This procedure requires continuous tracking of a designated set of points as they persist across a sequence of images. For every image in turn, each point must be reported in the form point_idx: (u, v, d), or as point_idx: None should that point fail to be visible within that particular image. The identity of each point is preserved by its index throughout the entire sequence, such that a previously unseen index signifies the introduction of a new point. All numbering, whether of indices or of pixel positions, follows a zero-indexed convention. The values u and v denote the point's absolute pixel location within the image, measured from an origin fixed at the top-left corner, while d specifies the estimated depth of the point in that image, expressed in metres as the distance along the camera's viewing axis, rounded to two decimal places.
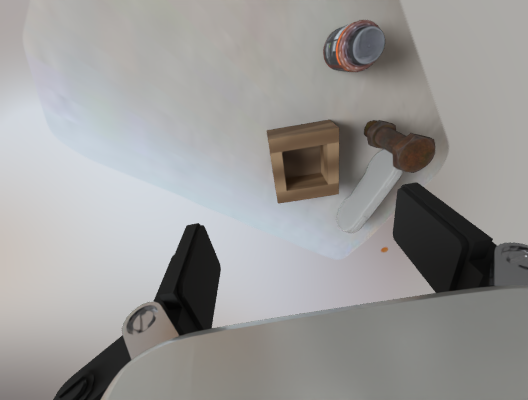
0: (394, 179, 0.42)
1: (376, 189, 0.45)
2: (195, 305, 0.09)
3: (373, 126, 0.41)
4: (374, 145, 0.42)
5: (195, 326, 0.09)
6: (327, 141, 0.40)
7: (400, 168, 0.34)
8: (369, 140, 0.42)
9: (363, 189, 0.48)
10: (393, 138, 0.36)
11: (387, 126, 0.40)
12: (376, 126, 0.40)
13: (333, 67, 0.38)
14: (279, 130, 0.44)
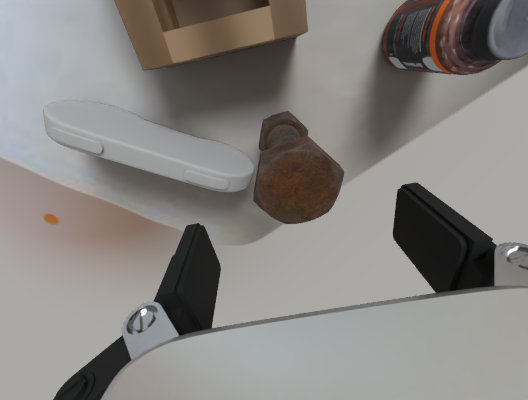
0: (208, 181, 0.21)
1: (178, 155, 0.21)
2: (195, 305, 0.09)
3: (296, 119, 0.22)
4: (265, 128, 0.22)
5: (195, 326, 0.09)
6: (276, 4, 0.17)
7: (265, 165, 0.13)
8: (272, 118, 0.22)
9: (168, 137, 0.24)
10: None
11: None
12: (300, 123, 0.22)
13: (405, 11, 0.20)
14: None
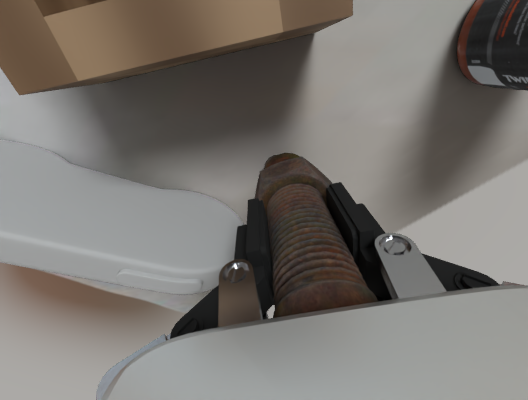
0: (163, 285, 0.12)
1: (108, 241, 0.12)
2: (270, 266, 0.09)
3: (316, 170, 0.13)
4: (264, 189, 0.12)
5: (269, 285, 0.10)
6: None
7: None
8: (275, 170, 0.13)
9: (102, 198, 0.14)
10: (345, 253, 0.08)
11: None
12: (323, 178, 0.13)
13: None
14: None
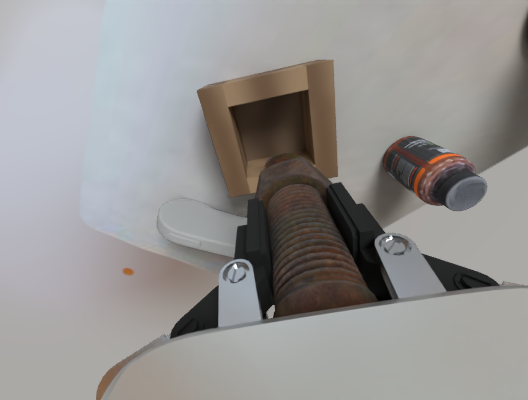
0: None
1: None
2: (270, 266, 0.09)
3: (316, 170, 0.13)
4: (265, 189, 0.12)
5: (269, 285, 0.10)
6: (319, 164, 0.27)
7: None
8: (276, 170, 0.13)
9: (234, 225, 0.33)
10: (345, 253, 0.08)
11: None
12: (323, 178, 0.13)
13: (398, 152, 0.30)
14: None
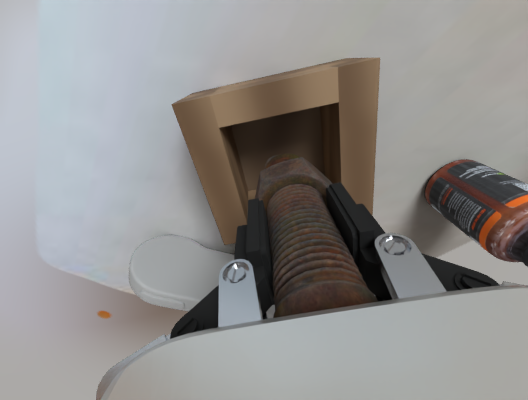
0: None
1: None
2: (270, 266, 0.09)
3: (316, 170, 0.13)
4: (265, 189, 0.12)
5: (269, 285, 0.10)
6: None
7: None
8: (275, 170, 0.13)
9: None
10: (345, 253, 0.08)
11: None
12: (323, 179, 0.13)
13: (450, 182, 0.22)
14: None
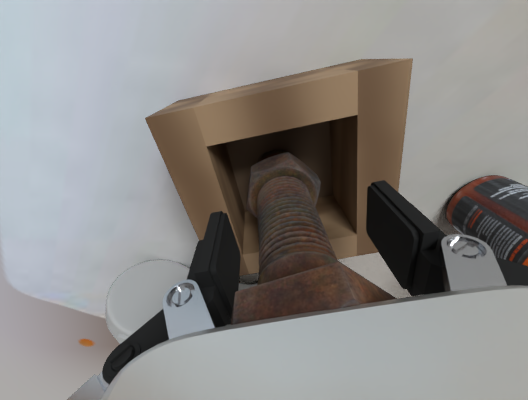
0: None
1: None
2: (225, 285, 0.09)
3: (301, 163, 0.15)
4: (254, 182, 0.14)
5: (224, 305, 0.09)
6: (363, 233, 0.16)
7: None
8: (264, 165, 0.14)
9: None
10: (320, 232, 0.10)
11: (310, 199, 0.14)
12: (307, 171, 0.14)
13: (480, 203, 0.19)
14: None
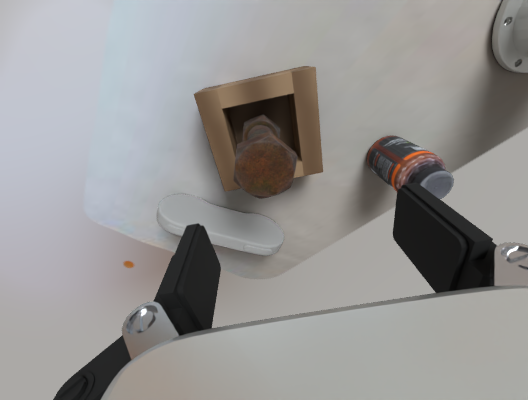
0: (259, 251, 0.34)
1: (240, 235, 0.34)
2: (195, 305, 0.09)
3: (270, 120, 0.28)
4: (245, 128, 0.27)
5: (195, 326, 0.09)
6: (305, 161, 0.29)
7: (239, 153, 0.19)
8: (250, 120, 0.27)
9: (228, 219, 0.36)
10: None
11: None
12: (273, 123, 0.27)
13: (379, 150, 0.33)
14: None
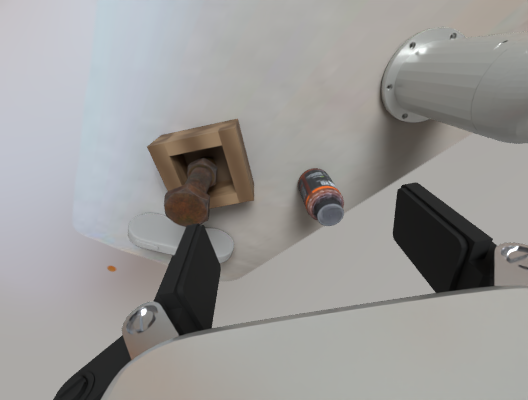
0: None
1: None
2: (195, 305, 0.09)
3: (209, 162, 0.36)
4: (189, 169, 0.36)
5: (195, 326, 0.09)
6: (239, 192, 0.38)
7: (166, 199, 0.27)
8: (193, 163, 0.36)
9: None
10: (200, 183, 0.32)
11: (212, 176, 0.36)
12: (210, 165, 0.36)
13: (303, 181, 0.41)
14: (240, 135, 0.38)
